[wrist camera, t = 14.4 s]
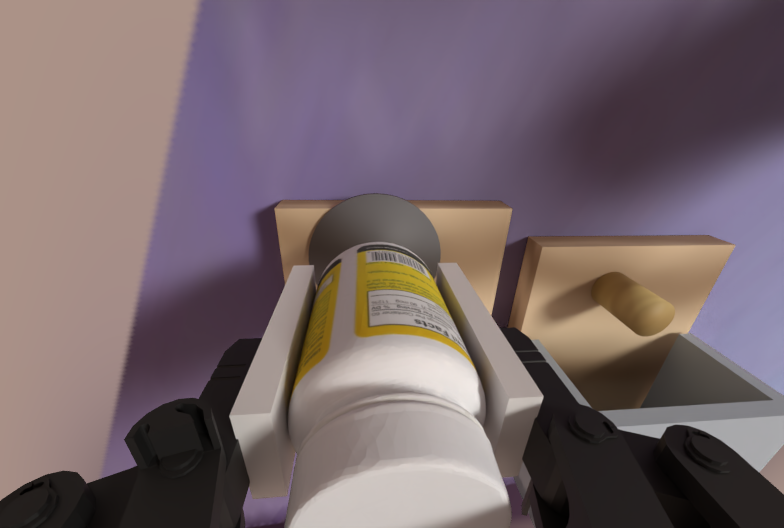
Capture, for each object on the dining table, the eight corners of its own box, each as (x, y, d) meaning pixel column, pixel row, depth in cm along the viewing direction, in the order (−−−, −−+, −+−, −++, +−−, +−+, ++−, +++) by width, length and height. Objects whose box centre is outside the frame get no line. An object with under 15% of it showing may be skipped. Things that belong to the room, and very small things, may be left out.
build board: (280, 185, 15) (271, 193, 13) (502, 187, 16) (517, 194, 14) (310, 423, 22) (306, 446, 21) (461, 414, 23) (469, 435, 22)
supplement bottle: (349, 353, 14) (336, 626, 7) (295, 268, 12) (187, 519, 5) (449, 313, 14) (557, 558, 6) (409, 218, 12) (498, 406, 4)
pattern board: (528, 236, 17) (579, 274, 13) (708, 235, 18) (805, 269, 14) (483, 430, 24) (508, 493, 20) (616, 421, 25) (664, 480, 21)
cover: (525, 339, 18) (589, 428, 13) (690, 333, 19) (810, 413, 14) (498, 441, 22) (539, 539, 17) (637, 431, 23) (715, 522, 18)
